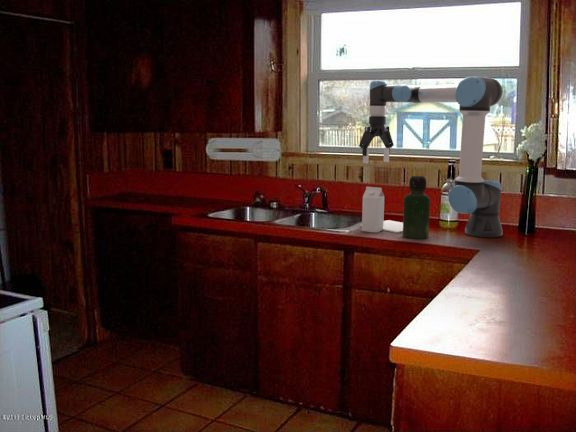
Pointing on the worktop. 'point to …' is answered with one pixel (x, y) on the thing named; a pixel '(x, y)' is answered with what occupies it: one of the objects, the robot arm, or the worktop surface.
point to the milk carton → (373, 210)
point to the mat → (392, 226)
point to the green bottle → (416, 210)
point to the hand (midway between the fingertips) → (376, 162)
